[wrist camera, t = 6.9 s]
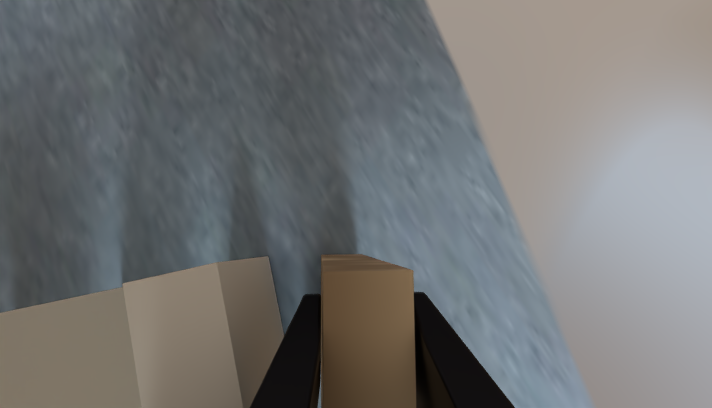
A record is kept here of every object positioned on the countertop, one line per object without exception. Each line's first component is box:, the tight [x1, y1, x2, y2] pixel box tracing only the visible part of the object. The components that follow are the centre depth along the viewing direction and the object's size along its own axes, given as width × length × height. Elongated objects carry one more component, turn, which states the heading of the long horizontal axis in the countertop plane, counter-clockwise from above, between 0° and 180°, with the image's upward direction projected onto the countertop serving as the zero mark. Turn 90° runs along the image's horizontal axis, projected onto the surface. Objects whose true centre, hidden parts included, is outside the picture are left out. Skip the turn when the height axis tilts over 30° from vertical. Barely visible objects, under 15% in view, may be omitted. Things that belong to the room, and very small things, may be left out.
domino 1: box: [0, 287, 142, 408], centre depth 12 cm, size 2×5×10 cm, turn 18°
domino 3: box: [321, 254, 416, 408], centre depth 13 cm, size 2×5×10 cm, turn 1°
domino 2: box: [122, 256, 284, 408], centre depth 13 cm, size 2×5×10 cm, turn 12°
